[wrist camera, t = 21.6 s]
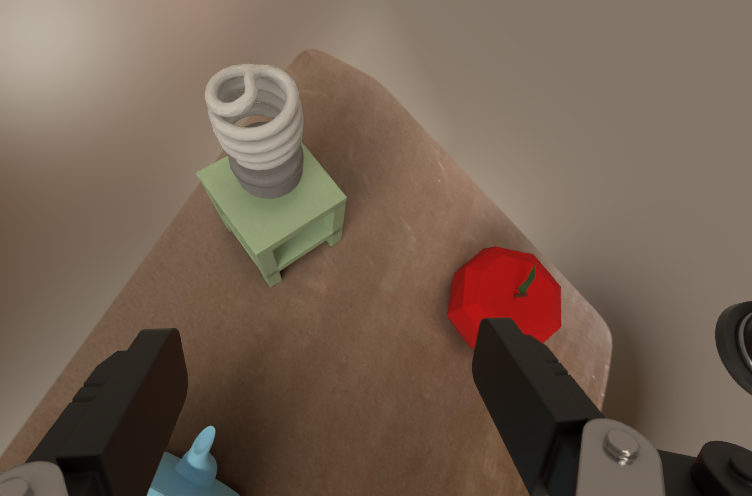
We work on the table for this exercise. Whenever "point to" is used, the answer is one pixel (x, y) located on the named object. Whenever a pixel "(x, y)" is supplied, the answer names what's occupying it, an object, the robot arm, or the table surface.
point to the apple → (505, 294)
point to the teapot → (190, 472)
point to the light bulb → (259, 127)
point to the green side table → (278, 215)
